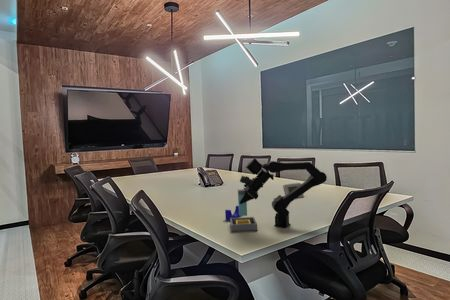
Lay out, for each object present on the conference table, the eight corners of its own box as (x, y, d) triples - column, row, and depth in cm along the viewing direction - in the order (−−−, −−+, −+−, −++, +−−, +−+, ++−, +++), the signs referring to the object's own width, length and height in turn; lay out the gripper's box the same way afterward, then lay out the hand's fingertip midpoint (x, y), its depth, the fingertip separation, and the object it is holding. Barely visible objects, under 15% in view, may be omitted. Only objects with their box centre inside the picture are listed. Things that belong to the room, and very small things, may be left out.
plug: (246, 213, 158) (245, 189, 157) (247, 215, 154) (246, 190, 153) (238, 214, 158) (237, 189, 157) (239, 216, 154) (238, 191, 153)
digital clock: (286, 200, 217) (285, 185, 216) (280, 197, 226) (280, 183, 225) (306, 198, 221) (305, 183, 220) (300, 195, 230) (300, 182, 229)
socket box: (254, 223, 163) (253, 216, 163) (257, 230, 150) (257, 223, 150) (230, 224, 162) (230, 218, 162) (231, 232, 149) (231, 225, 149)
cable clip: (232, 221, 169) (231, 210, 168) (225, 220, 171) (225, 210, 171) (243, 216, 178) (243, 206, 178) (237, 215, 181) (237, 205, 181)
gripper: (246, 168, 164) (227, 189, 164) (250, 172, 145) (229, 195, 146) (261, 181, 165) (242, 202, 165) (267, 187, 146) (245, 210, 146)
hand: (239, 202), depth 155 cm, fingers closed on plug, 4 cm apart
